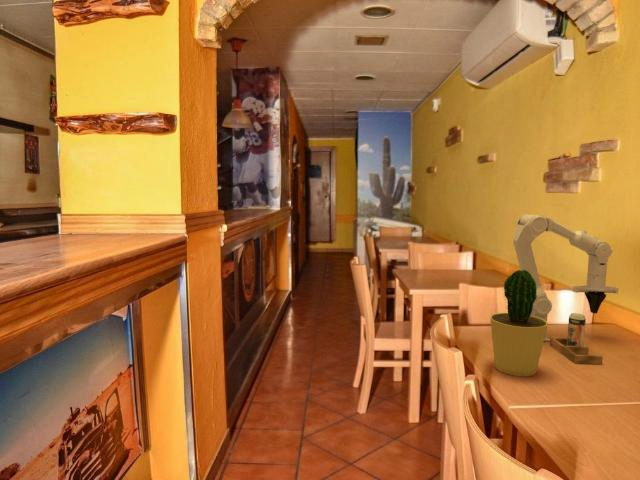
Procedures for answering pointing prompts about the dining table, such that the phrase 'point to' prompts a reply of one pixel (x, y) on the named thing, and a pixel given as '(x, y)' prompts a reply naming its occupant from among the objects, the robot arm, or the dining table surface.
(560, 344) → the brown compartment tray
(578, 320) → the beer can
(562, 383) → the dining table surface
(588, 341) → the dining table surface
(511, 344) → the potted cactus
